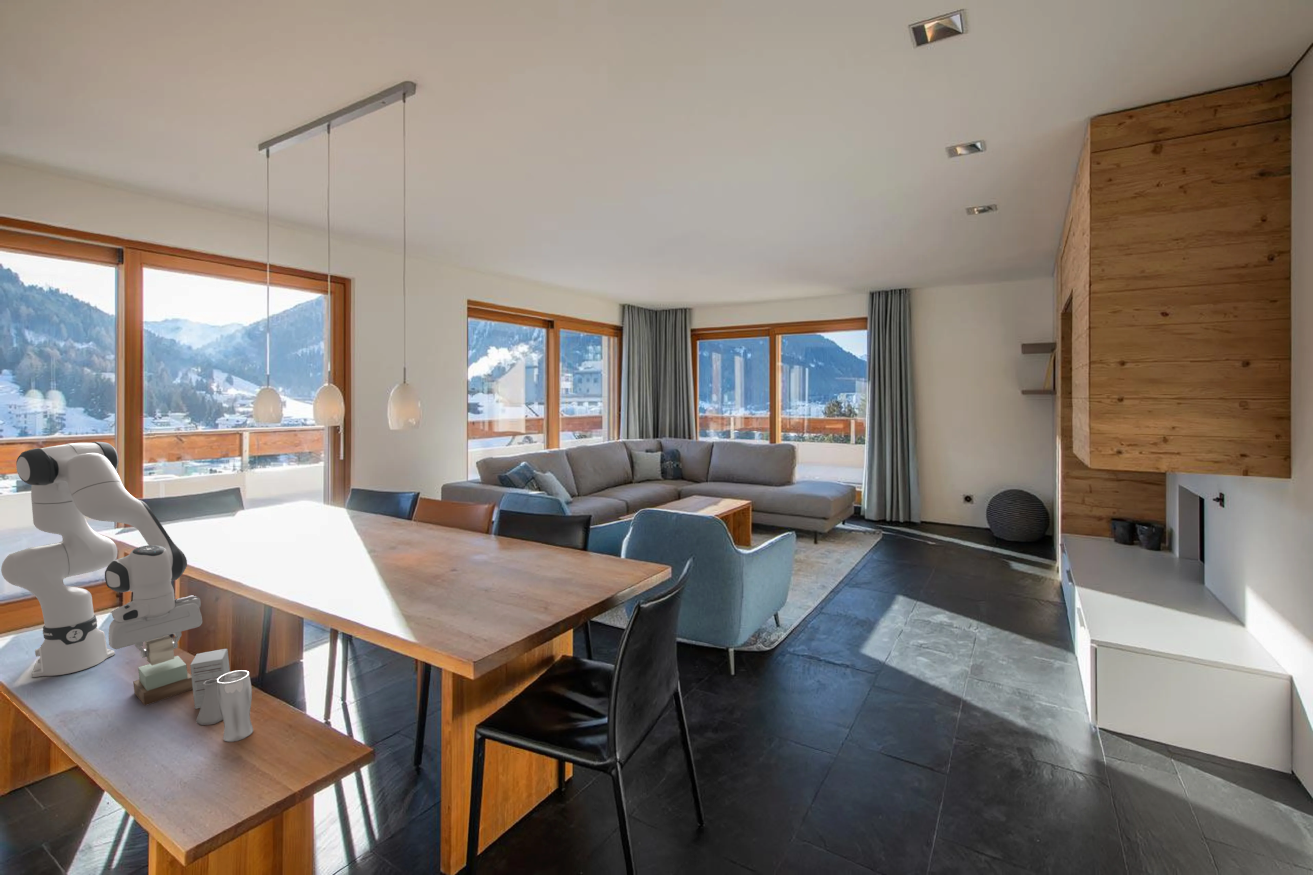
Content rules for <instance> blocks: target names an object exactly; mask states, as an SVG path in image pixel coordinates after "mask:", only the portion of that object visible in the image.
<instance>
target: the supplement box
mask: <svg viewBox="0 0 1313 875" xmlns="http://www.w3.org/2000/svg"><path fill="white" fill-rule="evenodd" d="M229 660H230V659H229V650H228V648H221V649H216V650H212V651H205V652H200V653H199V652H198V653H196V655H195V656H194V658H193V659H192V661H191V663H190V664H189V666H190V675H191V677H192V687H193V689H192V694H193V702H194V709H197V710H198V709H201V706H202V702H203V699H204V694H205V686H204V685H203V683H204V682H205V681H207V680H210V679H216V678H217V679H218V678H219V677H220V676H222V675H224V674H227V673H230V672H231V669H230V668H231V667H230V661H229Z"/></svg>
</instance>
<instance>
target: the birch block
mask: <svg viewBox="0 0 1313 875" xmlns="http://www.w3.org/2000/svg"><path fill="white" fill-rule="evenodd" d="M144 645H145V649H148V650H149V656H147V657H146V661H147V662H148V663H149V664H151V665H155V664H158V663H162V662H165V661H168V660H172V659H174V657H175V651H174V649H173V637H172V636H171V635H167V636H163V637H159V638H156V639H152V640H149V641H145V642H144Z"/></svg>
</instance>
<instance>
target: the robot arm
mask: <svg viewBox="0 0 1313 875" xmlns="http://www.w3.org/2000/svg"><path fill="white" fill-rule="evenodd" d="M119 460H120V459H119V454H118V452H117V449H116V448H115V447H114V446H112V444H111V443H109V442H103V441H92V442H75V443H74V442H72V443H65V444H60V445H53V446H52V445H51V446H47V447H43V448H40V447H37V448H36V447H35V448H32V449H29V450H25V451H23V452H21V453H20V454H19V456H17V459H16V466H15V467H16V468H15V469H16V472H17V475H18V477H19V478H20V480H21V481H22V482H24V483H26V484H27V485H30V486H31V487H30V488H31V492H30V497H31V498H30V500H31V511H32V512H31V513H32V519H33V520H32V524H33V525H34V526H35V528H36V529H37V530H39V531H41V532H44V533H49V534H54V535H60V536H61V538H62V540H61V541H59V542H55V543H54V542H53V543H50V544H44V545H38V546H32V547H28V548H25V549H21V550H18V551H15V552H13V553H10V554H8V555H7V556H6V557H5V558H4V559H3V561H2V565H1V566H0V567H1V569H0V570H1V571H0V572H1V575H2V577H3V578H4V580H5V581H6V582H8V583H9V584H11V585H13V586H16V587H19V588H22V589H24V590H27V591H28V592H30V593H31V594H32V595H33V596H35V597H36V599H37V600H38V602H39V605H40V608H41V612H42V617H43V622H44V625H43V627H42V634H43V639H44V640H43V642H42V643H41V644H40V647H39V648H35V650H34V654H35V655H34V656H35V657H37V659H36V662H35V664H34V668H33V671H32V673H31V677H32V678H39V677H44V676H50V677H51V676H61V675H67V674H71V673H76V672H79V671H80V672H81V671H83V670H86V669H89V668H92V667H94V666H96V665H99V664H101V663H102V662H104V661H106V659H108V658H110V657H112V656H115V655H116V652H115V650H119V649H122V648H127V647H130V646H133V645H134V646H135V647H136V649H138V650H139V651H140V656H141V658H147V656H149V650H148V649H146V648H143V647H142V646H144V643H145V641H149V640H152V639H156V638H159V637H163V636H167V635H169V636H171V635H173V636H174V638H172V640H173V650H174V649H178V648H179V647H178V646H179V645H178V642H179V641H180V639H181V637H182V636H183V635H182V632H185V631H188V630H192V629H195V628H198V627H200V626H201V625H202V624H203V617H202V613H201V610H200V608H201V604H202V603H201V599H200V597H198V596H196V595H195V596H194V595H188V596H186V597H179V598H176V599H175V590H174V587H173V585H172V581H176V580H179V578H180V577H181V576H182V575H183V573H185V571H186V569H187V566H188V560H187V557H186V555H185V553H184V552H183V551H182V550H181V549H180V547H178V546H177V544H175V542H174V541H173V540H172V538H171V537H170V535H169V534H168V532H167V530H166V529H165V528H164V526H163V525H162V524H161V522H160V520H159V519H158V518H157V516H156V514H155V513H154V512H153V510H152V508H150V506H149V505H148V504H147V503H146V502H145V501H143V500H142V499H141V500H140V499H138V498H136V497H134V496H133V495H132V494H130V492H129V491H128V490H127V489H126V488H125V486H124V485H123V482H122V480H121V477H120V475H119V474H118V472H117V470H116V469H117V468H118V466H119ZM86 517H87V518H89V519H91V520H93V521H94V520H95V521H99V522H111V523H112V522H113V523H119V524H125V525H128V526H131V527H134V528H135V529H136V530H137V531H138V533H140V534H141V536H142V538H143V539H144V541H145V542H146V543H147V545H142V546H139V547H136V548H134V549H133V550H131V551H130V552H129V554H128V555H126V556H123V557H120V558H117V557H118V552H119V551H118V547H117V544H116V543H115V542H114V541H113V540H112V539H111V538H109V537H108V536H105V535H102V534H100V533H98V532H97V531H95V530H94V529H93V528H92V527H91V526H90V524H89V523H88V520H87V518H86ZM104 568H105V570H104V580H105V584H106V587H107V588H109V589H110V590H112V591H114V592H117V593H127V592H132V593H133V594H132V600H131V601H129V602H127V603H125V604H123V605H121V606H120V607H117V608H115V609H114V610H112V611H111V616H112V621H111V622H110V624H109V628H108V645H109V646H110V648H111V649H110V648H108V647H107V640H106V635H105V631H103V630H101V629H99V628H98V620H97V616H96V615H95V613H94V612H95V611H94V604H93V597H92V596H93V595H92V593H91V592H90V591H89V590H87V589H86V588H82V587H80V586H79V587H77V586H72V585H71V586H69V585H65V583H64V579H66V578H70V577H74V576H80V575H84V574H85V575H86V574H88V573H93V572H96V571H100V570H102V569H104ZM113 649H114V650H113Z"/></svg>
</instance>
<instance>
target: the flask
mask: <svg viewBox="0 0 1313 875" xmlns="http://www.w3.org/2000/svg"><path fill="white" fill-rule="evenodd" d="M203 685H204V686H205V694H204V699H203V702H202V706H201V708H199V712H198V715H197V717H196V720H195V723H196V724H199V725H201V726H204V725H205V726H208V725H209V726H210V725H215V724H217V723H219V722H221V721H222V722H223V718H222V715H221V712H220V709H219V705H218V701H217V678H216V679H210V680H207V681H205V682H204V683H203Z"/></svg>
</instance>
